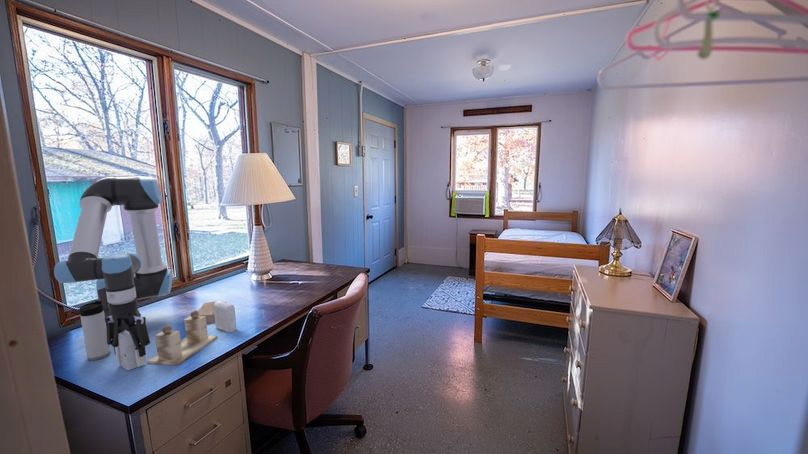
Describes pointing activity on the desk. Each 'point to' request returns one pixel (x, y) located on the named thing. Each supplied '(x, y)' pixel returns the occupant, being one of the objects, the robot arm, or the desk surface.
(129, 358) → the skincare box
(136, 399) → the desk surface
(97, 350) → the travel mug
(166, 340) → the posts
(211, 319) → the brick
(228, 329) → the photo printer
